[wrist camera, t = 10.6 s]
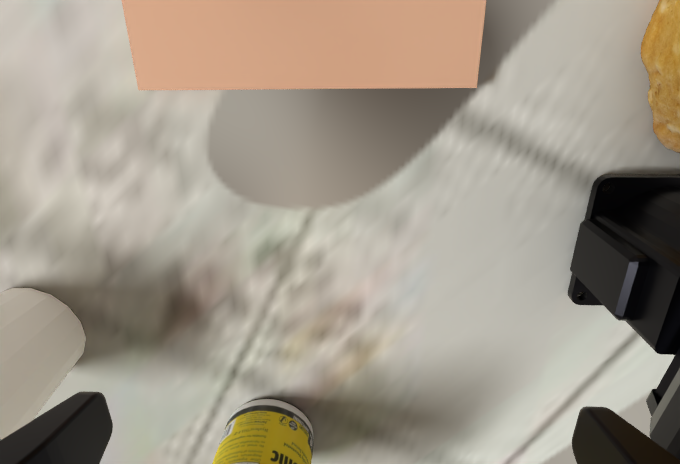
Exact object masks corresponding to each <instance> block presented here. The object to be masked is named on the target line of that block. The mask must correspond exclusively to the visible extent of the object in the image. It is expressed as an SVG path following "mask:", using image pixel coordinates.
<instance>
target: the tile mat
mask: <svg viewBox="0 0 680 464" xmlns="http://www.w3.org/2000/svg"><path fill="white" fill-rule="evenodd" d="M122 4H123V10H124V15H125V20H126V26H127V31H128V36H129V42H130V47H131V52H132V58H133V63H134V68H135V74H136V79H137V84H138V90H234V89H364V88H367V89H369V88H477V81H478V72H479V71H478V70H479V62H480V53H481V44H482V35H483V25H484V17H485V8H486V0H122Z"/></svg>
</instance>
